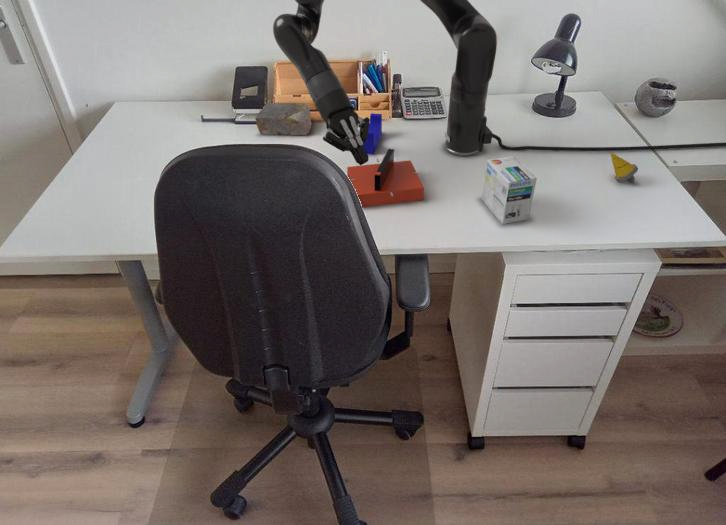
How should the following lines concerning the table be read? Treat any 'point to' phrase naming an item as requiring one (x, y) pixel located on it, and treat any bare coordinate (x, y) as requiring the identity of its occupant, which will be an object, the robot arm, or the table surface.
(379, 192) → the red flat rectangular block
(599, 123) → the table surface
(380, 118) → the cable clip
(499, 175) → the light bulb box
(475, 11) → the robot arm
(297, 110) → the geological specimen
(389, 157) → the black divider wall
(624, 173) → the yellow cone
